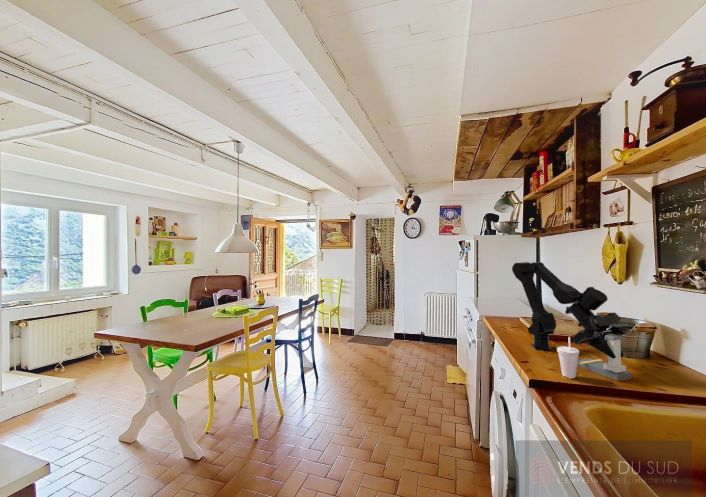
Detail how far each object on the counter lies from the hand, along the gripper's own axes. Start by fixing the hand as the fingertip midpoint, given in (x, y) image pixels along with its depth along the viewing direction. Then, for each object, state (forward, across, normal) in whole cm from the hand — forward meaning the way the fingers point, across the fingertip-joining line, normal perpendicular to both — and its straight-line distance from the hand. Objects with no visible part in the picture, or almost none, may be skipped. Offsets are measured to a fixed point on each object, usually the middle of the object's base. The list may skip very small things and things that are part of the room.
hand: (618, 357), depth 102 cm
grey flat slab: (+1, 0, +9) cm, 9 cm away
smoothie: (+1, -14, +9) cm, 17 cm away
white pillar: (+2, 0, +4) cm, 5 cm away
